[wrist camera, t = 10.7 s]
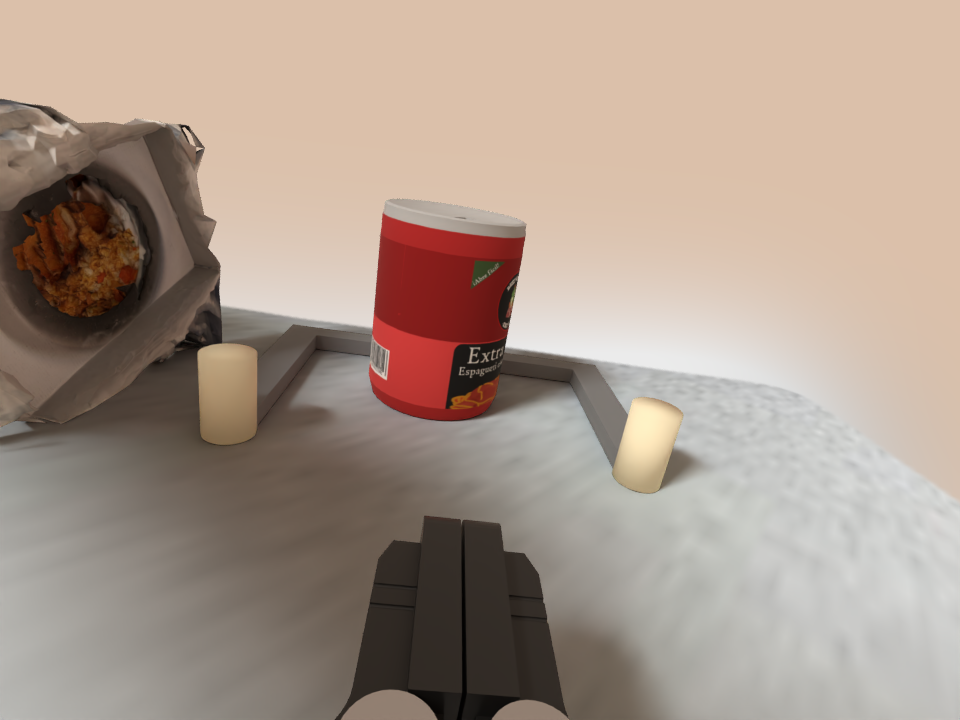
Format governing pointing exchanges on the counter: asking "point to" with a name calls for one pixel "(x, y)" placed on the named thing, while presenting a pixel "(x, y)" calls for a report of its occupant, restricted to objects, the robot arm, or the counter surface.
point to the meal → (97, 258)
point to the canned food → (442, 307)
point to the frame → (259, 383)
